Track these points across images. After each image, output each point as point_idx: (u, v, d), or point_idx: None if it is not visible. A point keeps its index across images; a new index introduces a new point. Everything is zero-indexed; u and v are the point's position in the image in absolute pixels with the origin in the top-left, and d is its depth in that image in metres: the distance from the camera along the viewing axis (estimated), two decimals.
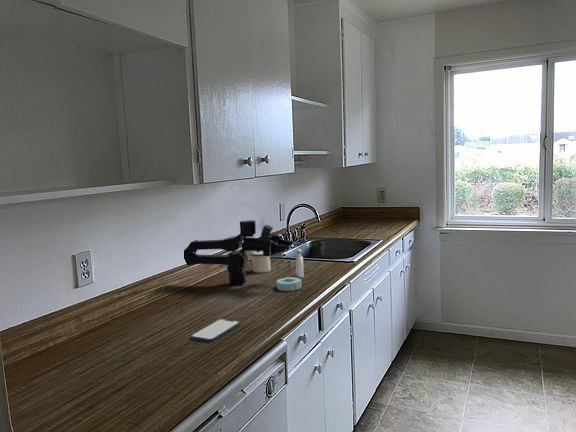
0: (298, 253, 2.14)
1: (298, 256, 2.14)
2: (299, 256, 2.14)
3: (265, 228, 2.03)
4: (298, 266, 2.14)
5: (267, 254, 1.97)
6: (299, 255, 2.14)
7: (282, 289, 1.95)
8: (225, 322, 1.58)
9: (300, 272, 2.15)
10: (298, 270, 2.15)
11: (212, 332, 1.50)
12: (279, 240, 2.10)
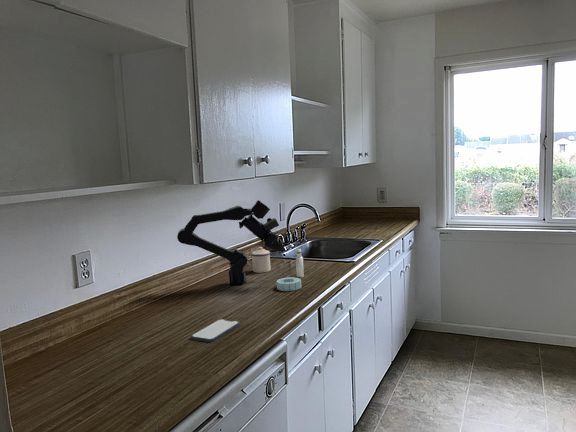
0: (298, 253, 2.14)
1: (298, 256, 2.14)
2: (299, 256, 2.14)
3: (275, 221, 2.09)
4: (298, 266, 2.14)
5: (268, 245, 2.02)
6: (299, 255, 2.14)
7: (282, 289, 1.95)
8: (225, 322, 1.58)
9: (300, 272, 2.15)
10: (298, 270, 2.15)
11: (212, 332, 1.50)
12: None
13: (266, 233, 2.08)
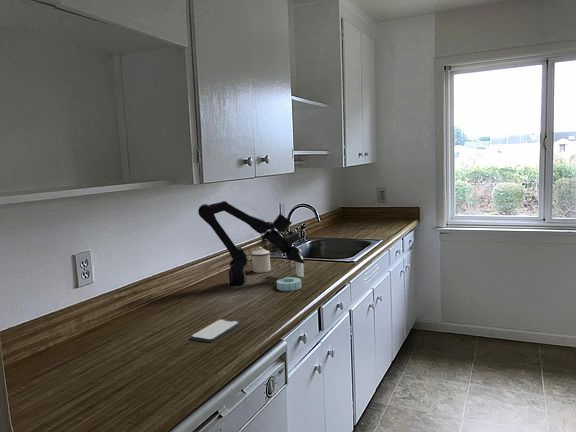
0: (298, 253, 2.14)
1: None
2: None
3: (297, 235, 2.12)
4: (298, 266, 2.14)
5: (290, 258, 2.05)
6: (299, 255, 2.14)
7: (282, 289, 1.95)
8: (225, 322, 1.58)
9: (300, 272, 2.15)
10: (298, 270, 2.15)
11: (212, 332, 1.50)
12: None
13: (288, 246, 2.11)
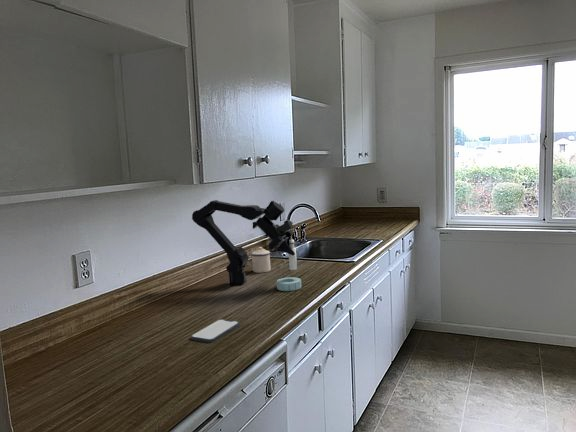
0: (290, 244, 2.00)
1: (290, 247, 2.00)
2: (291, 247, 2.00)
3: (287, 224, 1.98)
4: (289, 258, 2.01)
5: (271, 248, 1.94)
6: (291, 246, 2.00)
7: (282, 289, 1.95)
8: (225, 322, 1.58)
9: (291, 264, 2.00)
10: (289, 262, 2.01)
11: (212, 332, 1.50)
12: (288, 240, 2.03)
13: (277, 236, 1.99)
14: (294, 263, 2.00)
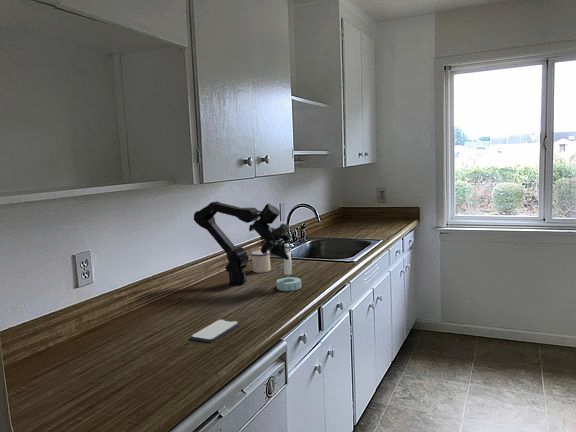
0: (284, 248, 1.97)
1: (284, 251, 1.97)
2: (285, 251, 1.97)
3: (281, 228, 1.95)
4: (284, 262, 1.97)
5: (263, 252, 1.92)
6: (285, 250, 1.97)
7: (282, 289, 1.95)
8: (224, 322, 1.58)
9: (285, 268, 1.97)
10: (284, 266, 1.98)
11: (212, 332, 1.50)
12: None
13: (271, 239, 1.97)
14: (288, 267, 1.97)
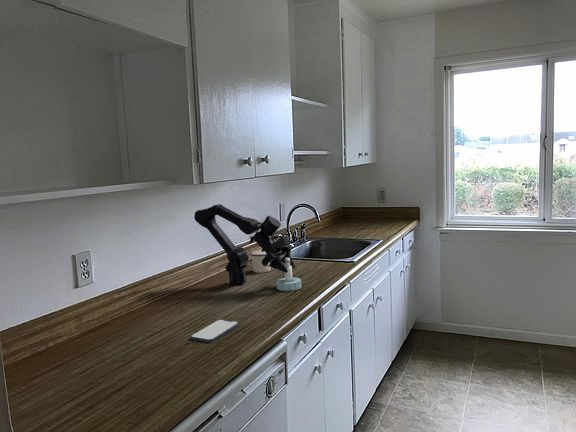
0: (285, 262, 1.97)
1: (285, 265, 1.98)
2: (286, 265, 1.97)
3: (282, 240, 1.95)
4: (285, 276, 1.98)
5: (264, 264, 1.92)
6: (286, 264, 1.97)
7: (282, 289, 1.95)
8: (224, 322, 1.58)
9: None
10: (285, 280, 1.98)
11: (211, 332, 1.49)
12: (286, 255, 2.02)
13: (272, 251, 1.97)
14: None
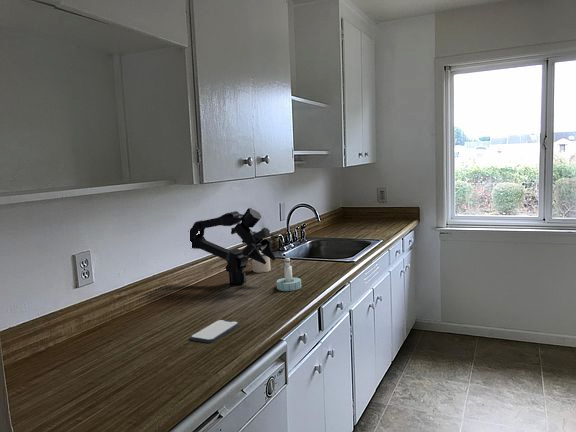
0: (285, 262, 1.97)
1: (285, 265, 1.98)
2: (286, 265, 1.97)
3: (262, 232, 2.00)
4: (285, 276, 1.98)
5: (244, 254, 1.96)
6: (286, 264, 1.97)
7: (282, 289, 1.95)
8: (224, 322, 1.57)
9: None
10: (285, 280, 1.98)
11: (211, 333, 1.49)
12: (267, 247, 2.08)
13: (253, 242, 2.01)
14: None
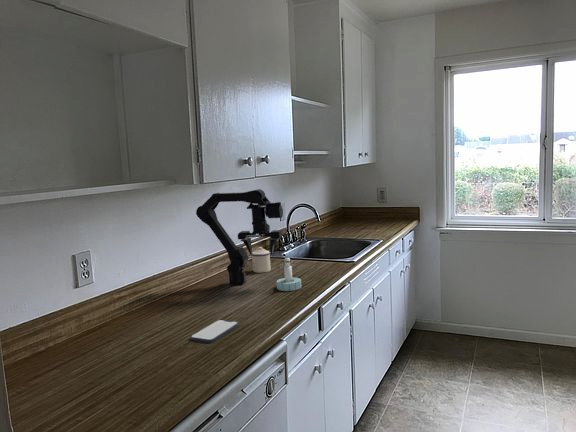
0: (285, 262, 1.97)
1: (285, 265, 1.98)
2: (286, 265, 1.97)
3: (269, 227, 2.12)
4: (285, 276, 1.98)
5: (279, 236, 2.01)
6: (286, 264, 1.97)
7: (282, 289, 1.95)
8: (224, 323, 1.57)
9: None
10: (285, 280, 1.98)
11: (211, 333, 1.49)
12: (250, 240, 2.08)
13: (266, 230, 2.06)
14: None
